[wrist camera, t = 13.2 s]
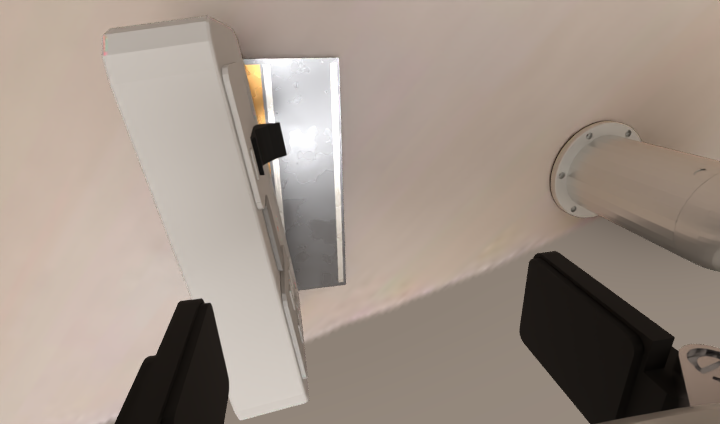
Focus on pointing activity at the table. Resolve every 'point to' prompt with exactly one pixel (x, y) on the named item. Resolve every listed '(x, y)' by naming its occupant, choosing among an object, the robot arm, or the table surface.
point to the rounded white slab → (215, 195)
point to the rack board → (306, 160)
